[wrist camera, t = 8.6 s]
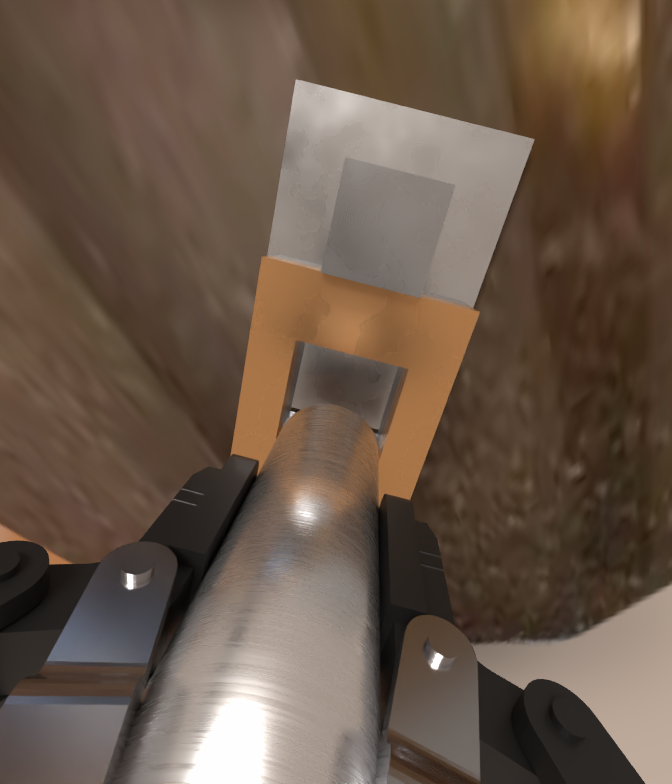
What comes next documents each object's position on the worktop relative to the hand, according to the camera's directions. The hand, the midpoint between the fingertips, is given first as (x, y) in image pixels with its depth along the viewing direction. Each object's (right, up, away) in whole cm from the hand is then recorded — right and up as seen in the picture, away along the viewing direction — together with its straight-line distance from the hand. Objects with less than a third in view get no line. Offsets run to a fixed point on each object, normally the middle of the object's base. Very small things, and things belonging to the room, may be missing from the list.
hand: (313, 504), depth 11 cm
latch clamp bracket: (+2, +9, +17) cm, 19 cm away
